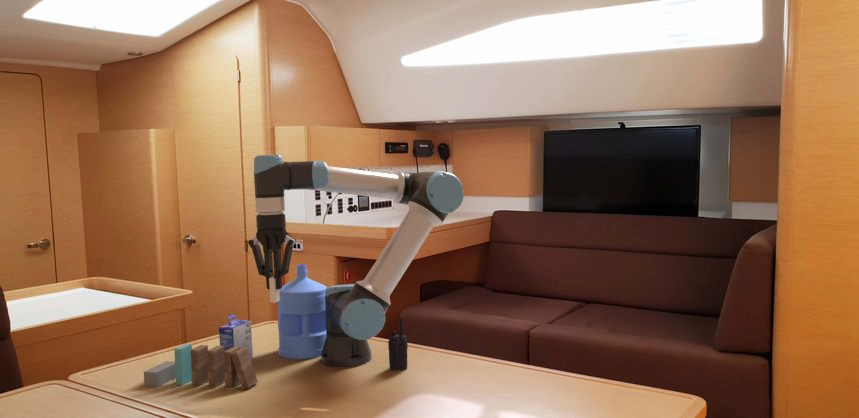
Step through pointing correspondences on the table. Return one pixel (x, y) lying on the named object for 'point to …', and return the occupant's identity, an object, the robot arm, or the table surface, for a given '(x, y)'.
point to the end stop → (159, 374)
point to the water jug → (301, 317)
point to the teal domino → (183, 364)
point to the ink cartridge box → (236, 335)
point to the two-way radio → (398, 350)
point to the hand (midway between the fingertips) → (275, 301)
